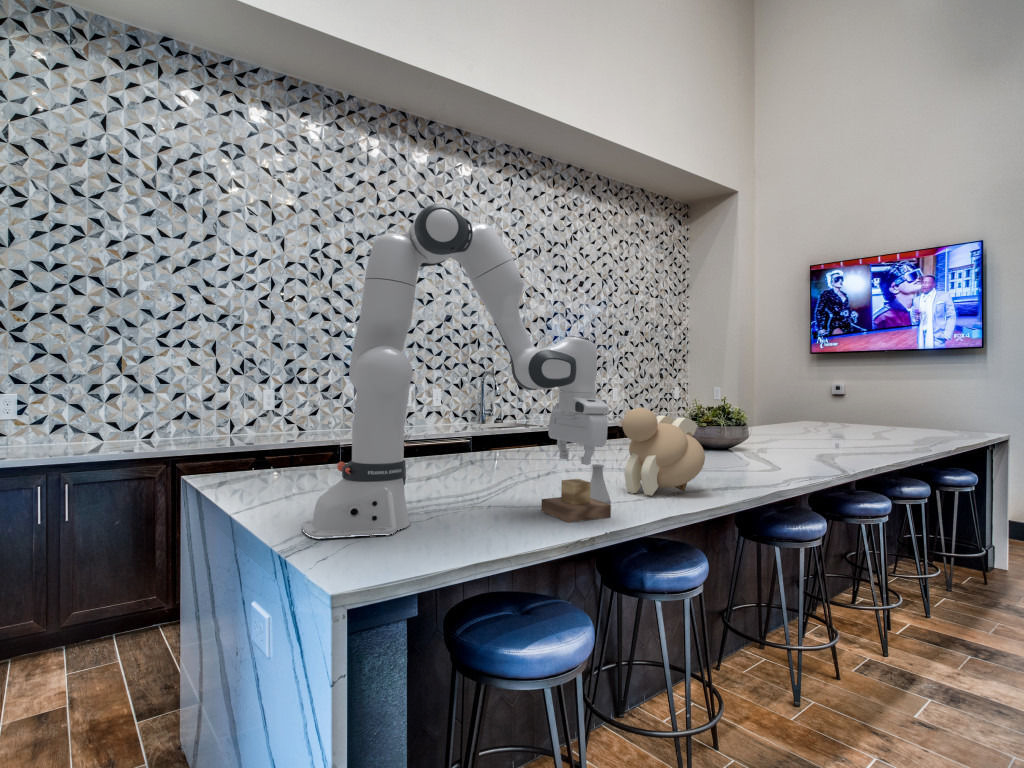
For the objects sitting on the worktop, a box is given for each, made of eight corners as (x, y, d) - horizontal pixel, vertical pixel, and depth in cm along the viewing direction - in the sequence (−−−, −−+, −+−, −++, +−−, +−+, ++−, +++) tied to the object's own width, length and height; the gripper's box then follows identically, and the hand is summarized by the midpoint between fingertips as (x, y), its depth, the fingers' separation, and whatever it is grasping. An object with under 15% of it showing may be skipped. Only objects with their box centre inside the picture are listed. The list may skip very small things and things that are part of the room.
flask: (609, 499, 158) (610, 463, 158) (611, 505, 151) (612, 467, 150) (583, 498, 159) (583, 462, 158) (583, 504, 151) (584, 466, 151)
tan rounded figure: (635, 377, 179) (702, 379, 162) (667, 442, 192) (733, 449, 175) (585, 447, 164) (653, 457, 147) (624, 511, 177) (691, 527, 160)
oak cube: (572, 504, 137) (573, 483, 137) (561, 500, 142) (561, 480, 141) (590, 502, 139) (590, 482, 139) (578, 498, 144) (578, 478, 144)
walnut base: (568, 522, 132) (568, 509, 132) (541, 511, 143) (541, 499, 143) (610, 517, 138) (610, 504, 138) (581, 506, 149) (581, 495, 149)
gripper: (543, 401, 148) (541, 456, 148) (590, 406, 130) (587, 468, 130) (564, 402, 151) (562, 455, 151) (613, 407, 133) (610, 467, 133)
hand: (574, 461), depth 140 cm, fingers open, 8 cm apart
